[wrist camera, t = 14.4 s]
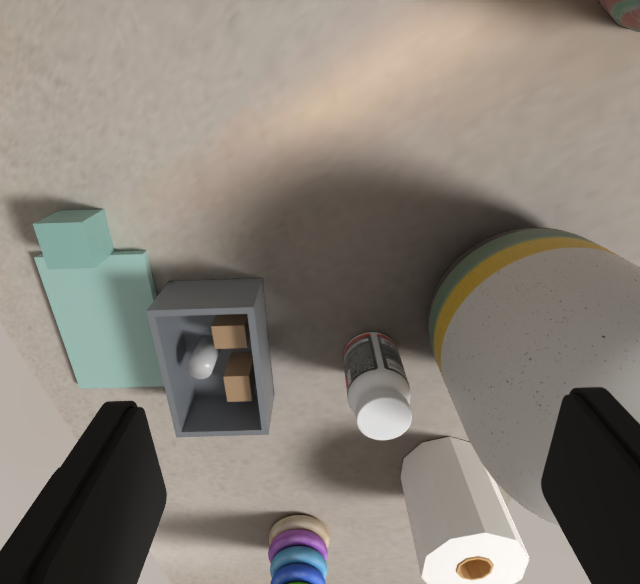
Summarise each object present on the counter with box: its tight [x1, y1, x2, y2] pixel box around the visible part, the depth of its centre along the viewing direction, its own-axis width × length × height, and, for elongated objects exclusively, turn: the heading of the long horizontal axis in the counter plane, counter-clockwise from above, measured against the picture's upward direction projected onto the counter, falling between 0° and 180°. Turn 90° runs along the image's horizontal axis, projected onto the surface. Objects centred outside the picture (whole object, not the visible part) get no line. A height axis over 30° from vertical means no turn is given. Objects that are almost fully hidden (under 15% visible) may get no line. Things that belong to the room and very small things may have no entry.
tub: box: [146, 278, 274, 437], centre depth 41 cm, size 14×9×6 cm, turn 2°
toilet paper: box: [401, 437, 530, 584], centre depth 47 cm, size 10×10×12 cm
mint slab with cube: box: [33, 209, 164, 389], centre depth 41 cm, size 19×10×4 cm, turn 2°
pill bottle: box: [344, 332, 412, 440], centre depth 40 cm, size 6×6×10 cm
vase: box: [428, 228, 640, 526], centre depth 31 cm, size 17×17×24 cm
